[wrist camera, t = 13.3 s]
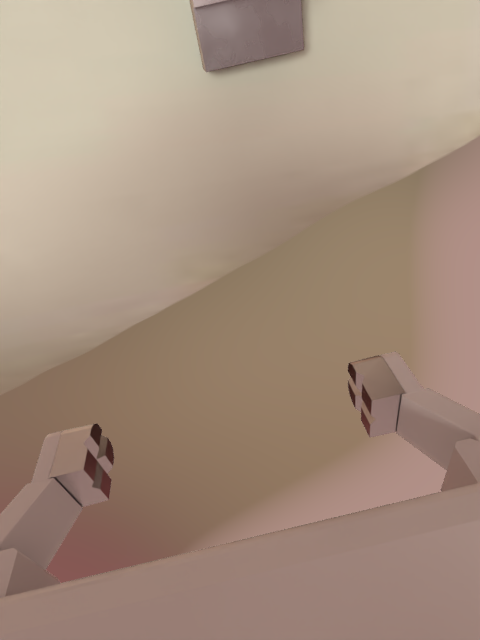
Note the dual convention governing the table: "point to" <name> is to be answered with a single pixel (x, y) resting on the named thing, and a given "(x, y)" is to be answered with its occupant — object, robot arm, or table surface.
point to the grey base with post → (246, 30)
